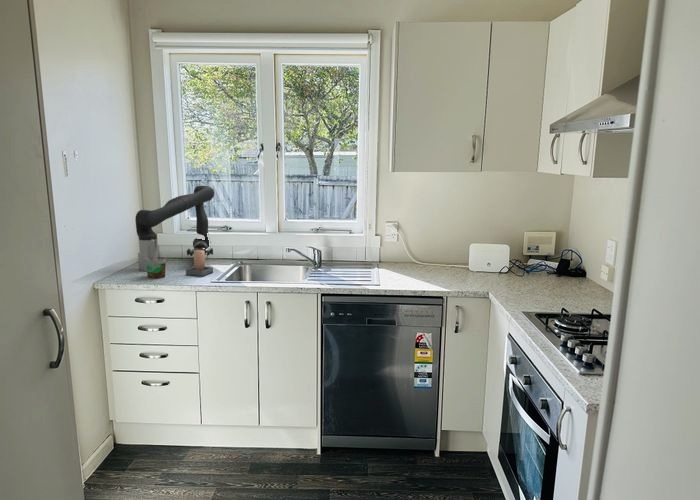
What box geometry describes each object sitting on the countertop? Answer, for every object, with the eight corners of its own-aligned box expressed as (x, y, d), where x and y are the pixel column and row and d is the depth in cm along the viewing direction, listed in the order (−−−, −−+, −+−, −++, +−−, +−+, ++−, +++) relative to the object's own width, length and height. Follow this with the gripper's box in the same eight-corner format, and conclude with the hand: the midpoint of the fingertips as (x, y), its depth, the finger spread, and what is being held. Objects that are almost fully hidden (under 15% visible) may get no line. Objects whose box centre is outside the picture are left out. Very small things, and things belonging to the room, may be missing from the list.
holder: (186, 275, 254) (185, 269, 254) (197, 271, 264) (197, 265, 263) (202, 276, 251) (202, 271, 251) (213, 272, 261) (213, 267, 260)
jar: (192, 272, 256) (191, 251, 253) (197, 270, 261) (197, 249, 259) (201, 273, 254) (201, 252, 252) (206, 271, 260) (206, 250, 257)
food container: (139, 277, 246) (138, 259, 244) (147, 275, 252) (146, 256, 250) (159, 280, 243) (158, 261, 241) (167, 277, 248) (166, 258, 246)
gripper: (187, 242, 277) (186, 247, 261) (213, 242, 280) (212, 247, 265) (188, 255, 278) (186, 261, 263) (213, 254, 282) (213, 260, 266)
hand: (199, 254), depth 264 cm, fingers open, 8 cm apart
